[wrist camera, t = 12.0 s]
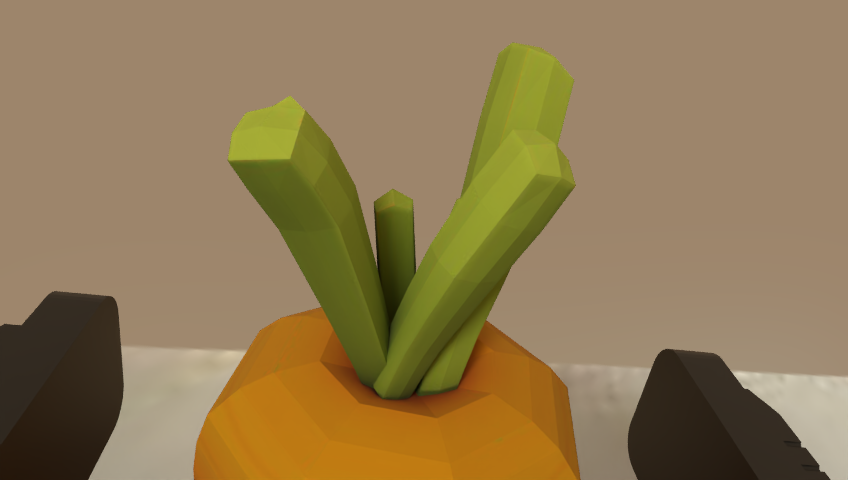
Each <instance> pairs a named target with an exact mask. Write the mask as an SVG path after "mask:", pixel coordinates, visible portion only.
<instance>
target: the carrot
mask: <svg viewBox="0 0 848 480" xmlns="http://www.w3.org/2000/svg"><path fill="white" fill-rule="evenodd" d="M573 83H574V79H573V78H572V77H571V76H570V75H569V73H568V72H567V71H566V70H565V68H564V67H563V66H562V65H561V64H560V62H559V61H558V60H557V59H556V58H555V57H554V56H552V55H551V54H549V53H548V52H546V51H545V50H544V49H542V48H540V47H534V46H529V45H523V44H518V43H511V44H510V45H509V46H508V47H506V48H505V49H504V50H503V51H501V52H500V53H499V55H498V58H497V62H496V65H495V69H494V72H493V75H492V79H491V82H490V86H489V89H488V92H487V96H486V99H485V103H484V106H483V109H482V113H481V116H480V120H479V125H478V129H477V132H476V137H475V140H474V145H473V149H472V153H471V157H470V161H469V165H468V169H467V173H466V177H465V181H464V185H463V189H462V193H461V197H460V198H459V199H457V200H456V202H455V204H454V207H453V209H452V212H451V214H450V216H449V218H448V219H447V221H446V222H445V224H444V225H443V227H442V228H441V230H440V231H439V233H438V234H437V236H436V237H435V239H434V240H433V242H432V243H431V245H430V247H429V249H428V251H427V252H426V254H425V257H424V258H423V260H422V262H421V264H420V266H419V268H418V270H417V272H416V259H415V236H414V214H413V200H412V199H411V198H409V197H407V196H405V195H403V194H402V193H400V192H398V191H396V190H394V189H392V190H390V191H389V192H387V193H386V194H384V195H383V196H382V197H380V198H379V199H377V200H376V201H374V213H375V231H376V249H377V266H378V269H377V266H376V262H375V258H374V254H373V251H372V247H371V243H370V239H369V235H368V232H367V228H366V224H365V221H364V217H363V213H362V209H361V206H360V202H359V198H358V194H357V190H356V187H355V184H354V182H353V181H352V179H351V177H350V175H349V173H348V172H347V169H346V168H345V166H344V164H343V162H342V160H341V158H340V156H339V155H338V153H337V151H336V149H335V147H334V145H333V143H332V141H331V139H330V138H329V137H328V136H327V135H326V134H325V133H324V131H323V130H322V129H321V128H320V127H319V126H318V124H317V123H316V122H315V121H314V120H313V118H312V117H311V116H310V115H309V114H308V113H307V112H306V111H305V110H304V109H303V108H302V107H301V106H300V105H299V104H298V103H297V102H296V101H295V100H294V99H293V98H292V97H291V96H289V97H287V98H286V99H284V100H282V101H281V102H279V103H277V104H275V105H274V106H272V107H268V108H264V109H259V110H255V111H251V112H247V113H246V114H245V115H244V116H243V118H242V120H241V121H240V122H239V124H238V125H237V127H236V128H235V129H234V131H233V132H232V136H231V142H230V149H229V155H228V162H229V163H230V165H231V166H232V167H233V169H234V170H235V171H236V173H237V174H238V176H239V178H240V179H241V180H242V182H243V183H244V185H245V186H246V188H247V189H248V190H249V192H250V193H251V194H252V196H253V197H254V198H255V199H256V201H257V202H258V203H259V205H261V207H262V208H263V210H264V211H265V212H266V214H267V215H268V216H269V217H270V219H271V220H272V221H273V223H274V224H275V225H276V227H277V228H278V229H279V231H280V232H281V234H282V236H283V238H284V240H285V242H286V243H287V245H288V247H289V249H290V251H291V253H292V254H293V256H294V258H295V260H296V262H297V263H298V265H299V267H300V269H301V270H302V272H303V274H304V276H305V277H306V280H307V281H308V283H309V285H310V287H311V289H312V290H313V292H314V294H315V296H316V298H317V299H318V301H319V303H320V305H321V307H320V308H316V309H312V310H309V311H305V312H301V313H297V314H294V315H290V316H287V317H283V318H280V319H278V320H277V321H275V322H273V323H272V324H270V325H268V326H267V327H265V328H264V329H262V330H260V331H259V333H258V335H257V336H256V338H255V339H254V341H253V343H252V344H251V346H250V347H249V349H248V351H247V352H246V354H245V355H244V357H243V359H242V360H241V362H240V363H239V365H238V367H237V368H236V370H235V371H234V373H233V375H232V376H231V378H230V380H229V381H228V383H227V384H226V386H225V388H224V389H223V391H222V392H221V394H220V396H219V397H218V399H217V400H216V402H215V404H214V405H213V407H212V408H211V410H210V412H209V413H208V415H207V417H206V420H205V422H204V425H203V427H202V430H201V433H200V435H199V438H198V440H197V444H196V452H195V460H194V480H580V473H579V466H578V459H577V452H576V445H575V438H574V431H573V424H572V417H571V410H570V403H569V396H568V389H567V387H566V385H565V384H564V383H563V382H562V381H561V380H560V378H559V377H558V376H557V375H556V374H555V373H554V371H553V370H552V369H551V368H550V367H549V366H547V365H546V364H545V363H543V362H542V361H541V360H539V359H538V358H536V357H535V356H534V355H532V354H531V353H529V352H528V351H527V350H526V349H524V348H523V347H522V346H520V345H519V344H517V343H516V342H514V341H513V340H512V339H511V338H509V337H508V336H506V335H505V334H504V333H503V332H501V331H500V330H498V329H497V328H496V327H494V326H493V325H492V324H490V323H489V322H488V321H486V319H487V317H488V315H489V312H490V311H491V309H492V306H493V304H494V302H495V300H496V298H497V296H498V294H499V292H500V290H501V288H502V286H503V284H504V282H505V279H506V277H507V275H508V273H509V271H510V269H511V266H512V265H513V264H514V263H515V261H516V260H517V259H518V258H519V257H520V256H521V255H522V253H523V252H524V251H525V250H526V249H527V248H528V246H529V245H530V244H531V243H532V242H533V241H534V240H535V238H536V237H537V236H538V235H539V234H540V232H541V231H542V230H543V229H544V227H545V226H546V225H547V223H548V222H549V221H550V219H551V218H552V217H553V215H554V214H555V213H556V211H557V210H558V209H559V207H560V206H561V205H562V203H563V202H564V201H565V199H566V198H567V197H568V195H569V194H570V193H571V191H572V190H573V189H574V187H575V186H576V185H575V181H574V178H573V174H572V171H571V168H570V164H569V160H568V159H567V158H566V156H565V155H564V154H563V153H562V151H561V150H560V149H559V147H558V142H559V138H560V133H561V130H562V126H563V122H564V118H565V114H566V110H567V106H568V102H569V98H570V95H571V91H572V86H573Z"/></svg>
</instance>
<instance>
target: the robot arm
mask: <svg viewBox="0 0 848 480" xmlns="http://www.w3.org/2000/svg"><path fill="white" fill-rule="evenodd" d="M123 388H124V383H123V368H122V355H121V342H120V328H119V315H118V307H117V303H116V301H115V299H114V298H113V297H111V296H101V295H91V294H80V293H69V292H57V291H54V292H52V293H50V294H49V295H48V296H47V297H46V298H45V299H44V300H43V301H42V302H41V304H40V305H39V306H38V307H37V308H36V309H35V311H34V312H33V313H32V314H31V315H30V316H29V317H28V319H27V320H26V321H25V322H24V323H23V324H22V325H10V324H4V325H2V326H0V480H88V479H89V477H90V475H91V473H92V471H93V469H94V467H95V465H96V463H97V461H98V459H99V457H100V455H101V453H102V452H103V450H104V448H105V446H106V444H107V442H108V440H109V438H110V436H111V434H112V432H113V430H114V428H115V426H116V423H117V420H118V417H119V414H120V410H121V405H122V399H123ZM628 452H629V458H630V462H631V465H632V467H633V470H634V472H635V474H636V477H637V479H638V480H830V478H829V477H828V476H827V475H826V473H825V472H820V470H819V464H818V463H817V462H816V460H815V459H814V458H813V457H812V455H811V454H810V453H809V451H808V450H807V449H806V448H802V447H801V441H800V440H799V439H798V437H797V436H796V435H795V434H794V432H793V431H792V430H791V428H790V427H789V426H788V425H787V423H786V422H785V421H784V419H783V418H782V417H781V416H780V414H779V413H777V412H776V411H775V410H774V409H772V408H771V407H770V406H769V405H767V404H766V403H765V402H764V401H762V400H761V399H760V398H758V397H757V396H756V395H755V394H753V393H752V392H751V391H750V390H748V389H744V388H743V387H742V385H741V384H740V383H739V381H738V380H737V379H736V377H735V376H734V375H733V373H732V372H731V371H730V369H729V368H728V367H727V366H726V364H725V363H724V361H723V360H722V359H721V358H720V357H719V356H718V355H716V354H714V353H705V352H695V351H684V350H673V349H665V350H663V351H661V352H660V353H659V354H658V356H657V357H656V359H655V361H654V364H653V366H652V369H651V372H650V374H649V377H648V379H647V382H646V385H645V387H644V390H643V392H642V395H641V398H640V400H639V403H638V405H637V408H636V411H635V413H634V416H633V418H632V421H631V424H630V428H629V433H628Z"/></svg>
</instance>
